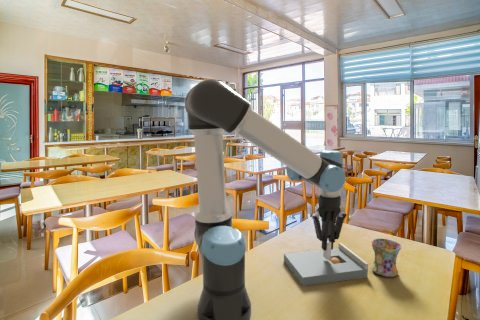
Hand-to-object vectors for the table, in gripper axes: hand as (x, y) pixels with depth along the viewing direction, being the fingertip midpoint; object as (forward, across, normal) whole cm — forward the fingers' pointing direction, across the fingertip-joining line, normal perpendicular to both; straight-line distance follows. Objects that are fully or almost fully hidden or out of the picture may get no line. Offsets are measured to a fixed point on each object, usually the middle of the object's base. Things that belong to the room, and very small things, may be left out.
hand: (326, 257), depth 105 cm
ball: (+4, +2, 0) cm, 4 cm away
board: (+4, -1, 0) cm, 4 cm away
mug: (+4, +19, -6) cm, 20 cm away
